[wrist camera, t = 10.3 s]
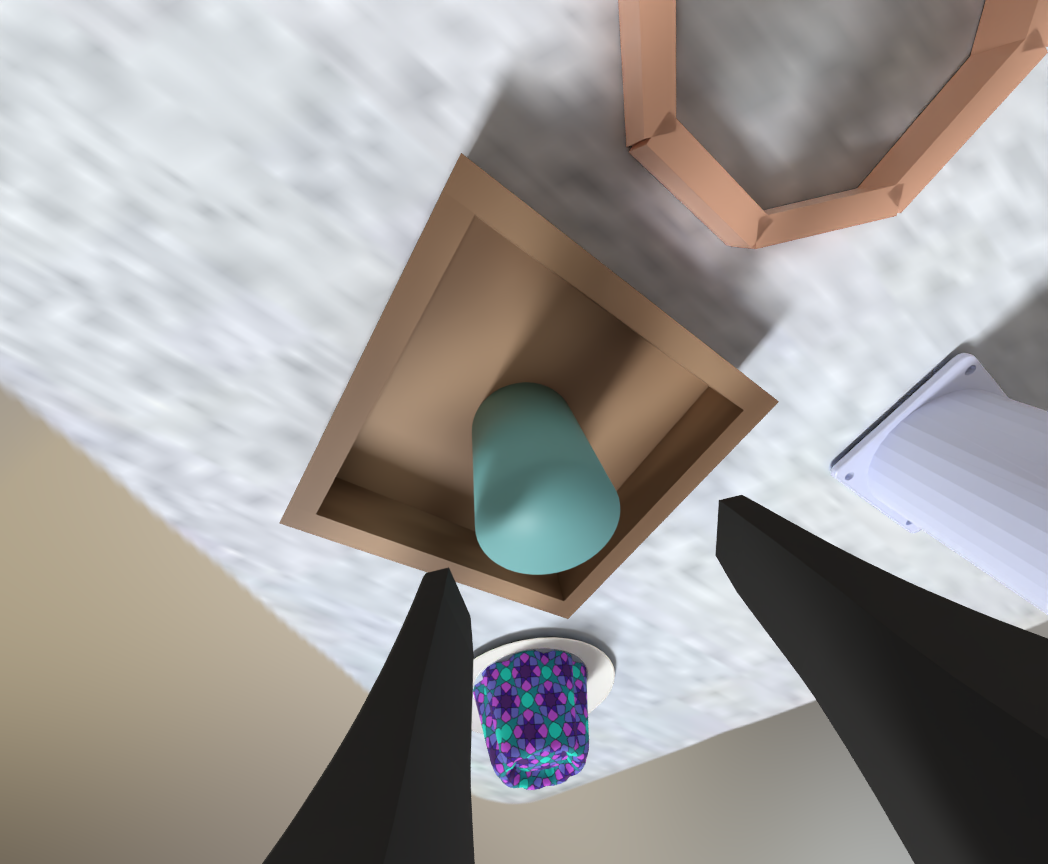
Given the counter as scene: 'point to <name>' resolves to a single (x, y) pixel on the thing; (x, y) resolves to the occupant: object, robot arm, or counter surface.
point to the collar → (736, 219)
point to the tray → (503, 359)
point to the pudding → (538, 708)
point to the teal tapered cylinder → (538, 483)
